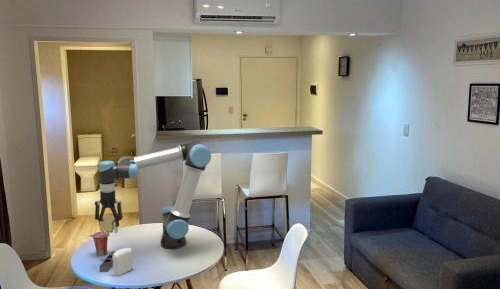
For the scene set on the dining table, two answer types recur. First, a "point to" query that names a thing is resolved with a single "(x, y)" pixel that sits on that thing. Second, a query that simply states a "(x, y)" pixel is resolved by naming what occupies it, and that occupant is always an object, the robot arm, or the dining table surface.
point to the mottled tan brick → (107, 224)
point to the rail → (107, 263)
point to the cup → (100, 243)
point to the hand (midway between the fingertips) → (109, 232)
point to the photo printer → (122, 261)
